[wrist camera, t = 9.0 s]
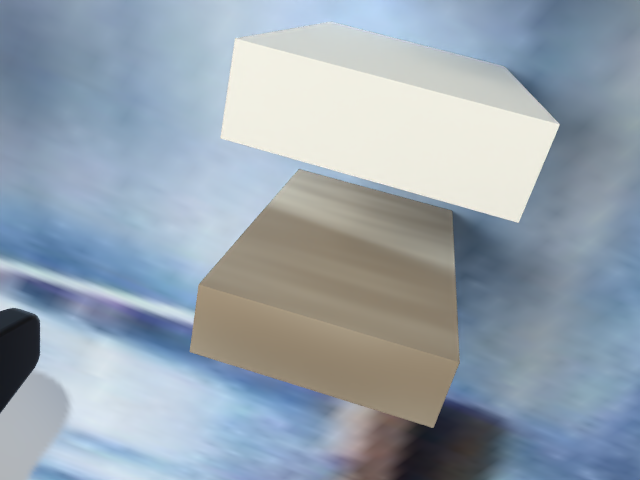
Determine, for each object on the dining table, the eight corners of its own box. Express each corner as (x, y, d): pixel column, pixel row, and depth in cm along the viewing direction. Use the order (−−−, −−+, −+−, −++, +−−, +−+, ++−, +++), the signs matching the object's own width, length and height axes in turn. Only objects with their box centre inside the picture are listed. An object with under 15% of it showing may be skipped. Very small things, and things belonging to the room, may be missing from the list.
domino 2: (436, 255, 18) (433, 427, 11) (289, 214, 18) (189, 352, 11) (452, 210, 17) (459, 362, 10) (299, 168, 18) (198, 284, 10)
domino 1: (484, 122, 16) (519, 222, 9) (318, 77, 16) (220, 138, 9) (504, 66, 15) (559, 124, 8) (331, 21, 16) (235, 38, 8)
